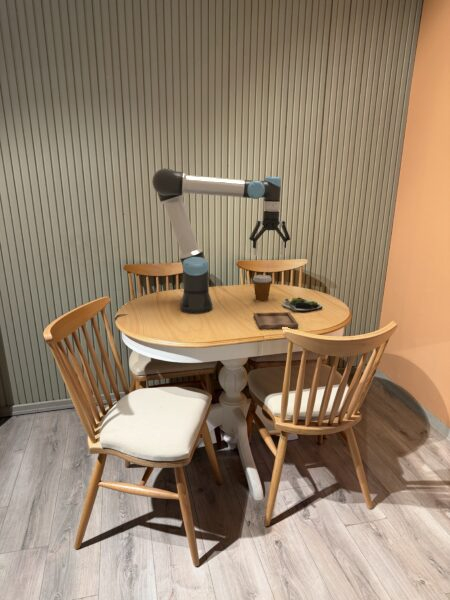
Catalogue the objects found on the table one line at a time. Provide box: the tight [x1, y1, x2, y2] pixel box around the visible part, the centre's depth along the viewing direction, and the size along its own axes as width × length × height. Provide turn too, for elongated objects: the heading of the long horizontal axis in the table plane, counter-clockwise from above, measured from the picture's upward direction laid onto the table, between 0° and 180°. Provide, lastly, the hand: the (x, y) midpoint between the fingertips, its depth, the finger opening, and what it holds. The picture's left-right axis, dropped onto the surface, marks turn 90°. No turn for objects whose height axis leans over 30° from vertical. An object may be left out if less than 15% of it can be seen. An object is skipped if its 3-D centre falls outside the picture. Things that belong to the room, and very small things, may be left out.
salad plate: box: [281, 296, 323, 314], centre depth 198 cm, size 19×18×5 cm
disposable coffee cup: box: [252, 274, 273, 302], centre depth 208 cm, size 10×10×12 cm
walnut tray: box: [253, 311, 299, 330], centre depth 176 cm, size 16×16×2 cm
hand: (269, 254), depth 204 cm, fingers open, 13 cm apart
